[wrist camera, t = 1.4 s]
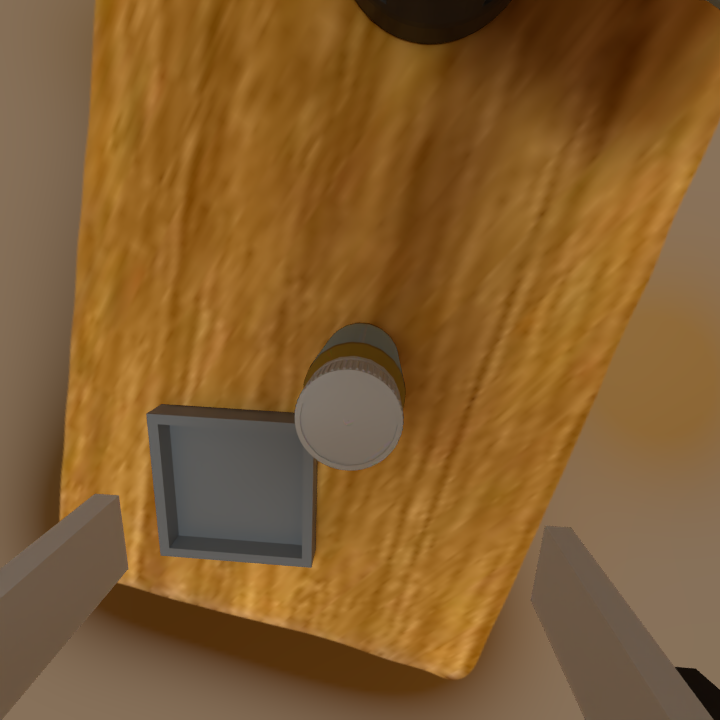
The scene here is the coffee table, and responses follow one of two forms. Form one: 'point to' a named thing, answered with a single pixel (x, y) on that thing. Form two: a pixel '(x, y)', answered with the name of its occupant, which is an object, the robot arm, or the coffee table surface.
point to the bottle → (352, 399)
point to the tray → (232, 485)
